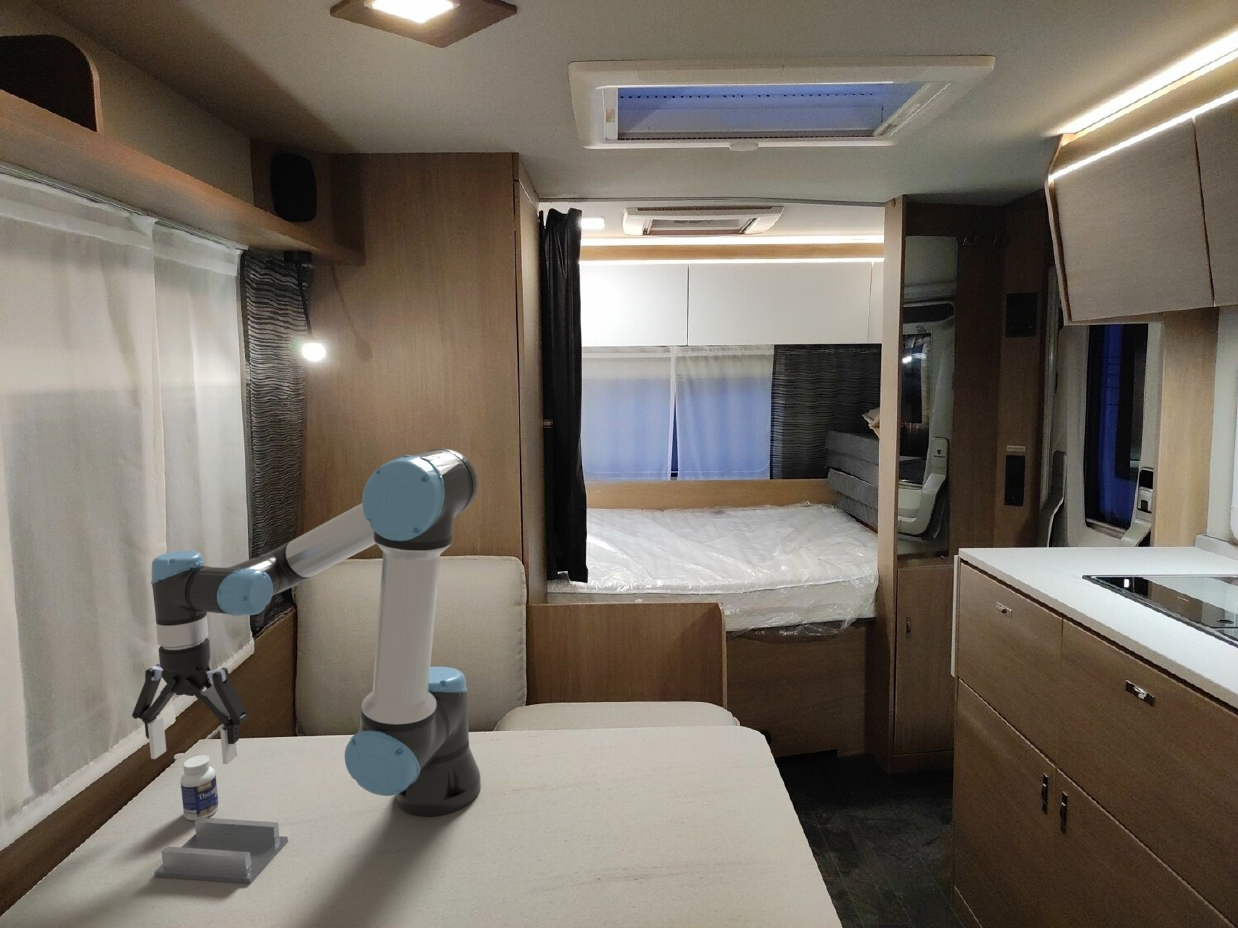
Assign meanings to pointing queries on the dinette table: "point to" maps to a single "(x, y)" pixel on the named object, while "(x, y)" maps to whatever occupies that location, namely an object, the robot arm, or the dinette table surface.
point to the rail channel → (223, 851)
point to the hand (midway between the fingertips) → (194, 757)
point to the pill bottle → (199, 788)
